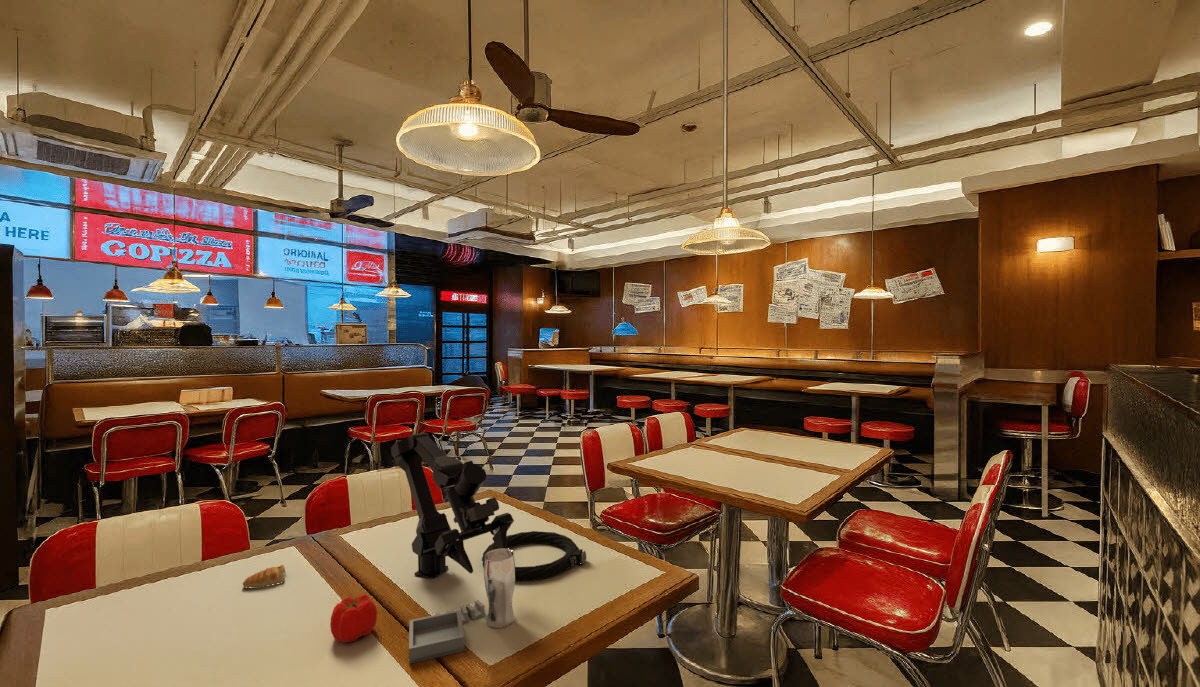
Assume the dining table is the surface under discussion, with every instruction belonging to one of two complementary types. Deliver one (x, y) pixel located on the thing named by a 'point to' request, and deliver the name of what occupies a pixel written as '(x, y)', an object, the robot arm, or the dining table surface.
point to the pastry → (266, 577)
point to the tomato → (353, 618)
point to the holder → (435, 636)
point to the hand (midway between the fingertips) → (489, 565)
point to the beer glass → (499, 586)
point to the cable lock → (550, 569)
